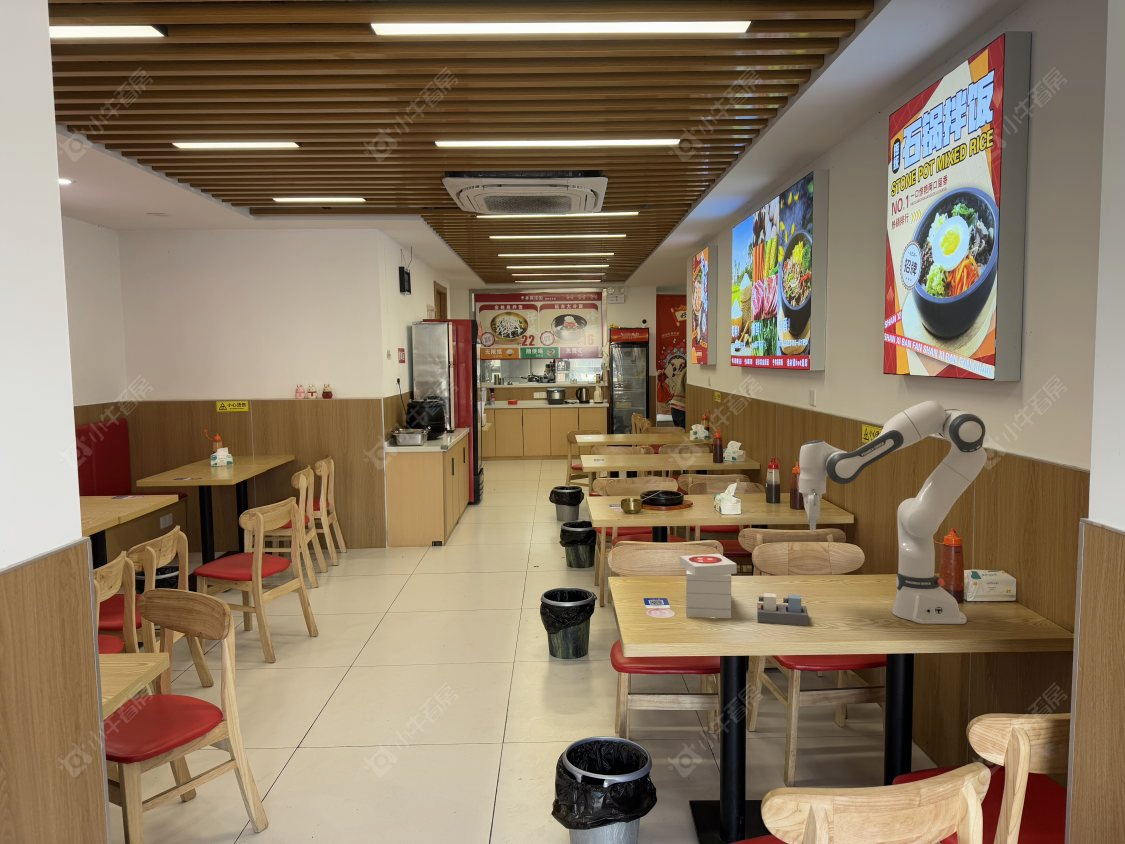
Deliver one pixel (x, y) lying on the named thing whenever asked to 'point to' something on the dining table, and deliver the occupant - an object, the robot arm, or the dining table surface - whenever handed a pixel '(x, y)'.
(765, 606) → the white plug
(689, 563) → the stack of pizza boxes
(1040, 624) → the dining table surface
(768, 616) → the grey socket tray
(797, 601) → the blue plug
